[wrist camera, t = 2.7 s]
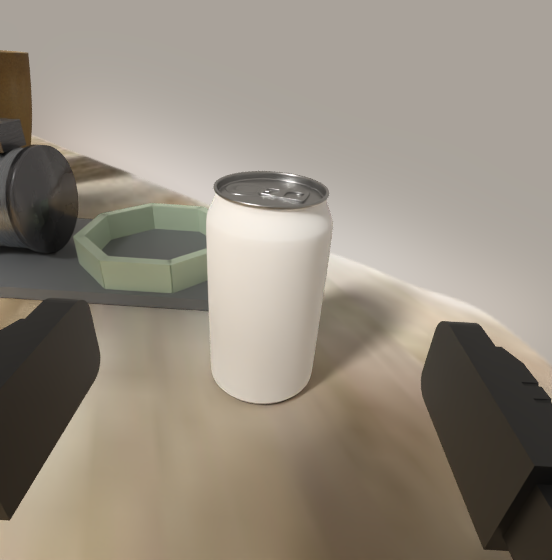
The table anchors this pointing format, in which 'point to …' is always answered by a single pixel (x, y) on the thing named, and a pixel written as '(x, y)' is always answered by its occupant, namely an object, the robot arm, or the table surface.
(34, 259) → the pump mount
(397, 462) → the table surface
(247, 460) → the table surface
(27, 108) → the plant pot
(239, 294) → the can
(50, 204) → the cylinder
